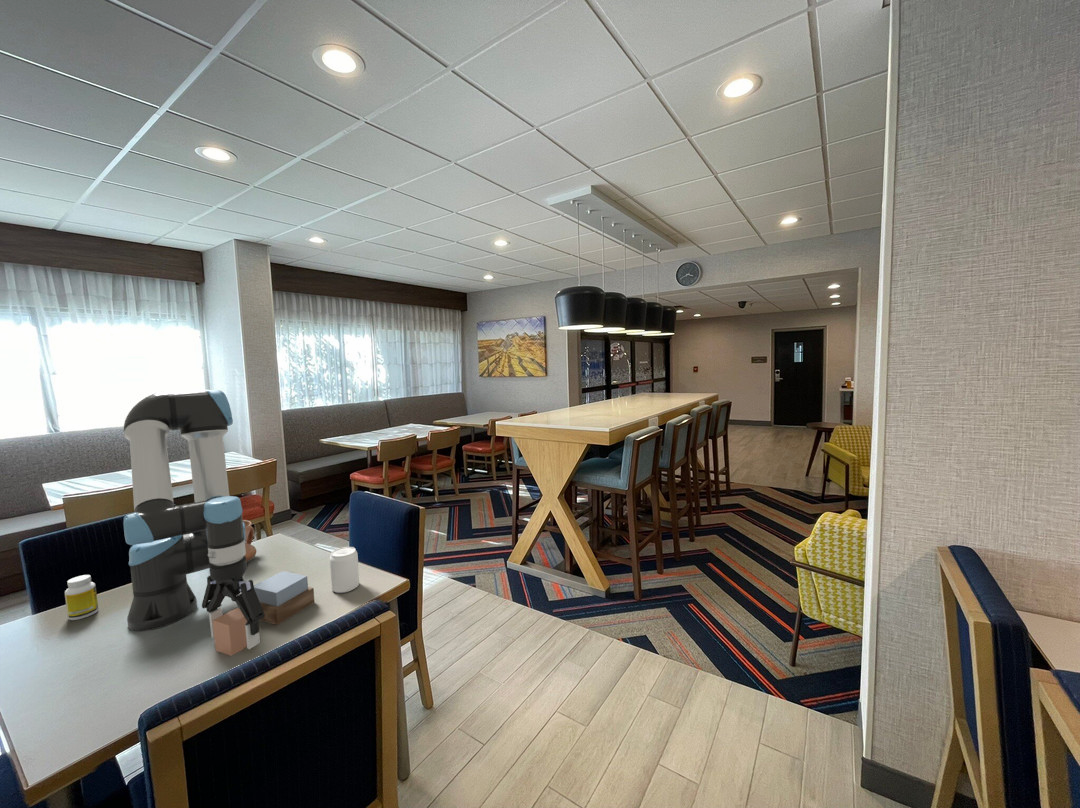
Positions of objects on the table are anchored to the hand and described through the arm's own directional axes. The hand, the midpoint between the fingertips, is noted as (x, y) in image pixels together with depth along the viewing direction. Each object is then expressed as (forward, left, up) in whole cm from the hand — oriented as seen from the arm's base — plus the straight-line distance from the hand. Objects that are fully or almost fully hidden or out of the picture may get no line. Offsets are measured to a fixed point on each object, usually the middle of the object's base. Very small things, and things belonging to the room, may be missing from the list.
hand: (235, 640), depth 111 cm
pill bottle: (-57, -6, -2) cm, 58 cm away
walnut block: (-4, +16, -2) cm, 17 cm away
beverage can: (+4, +32, -2) cm, 32 cm away
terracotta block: (0, 0, -2) cm, 2 cm away
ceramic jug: (-49, +32, -2) cm, 59 cm away
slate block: (-4, +16, +3) cm, 17 cm away
